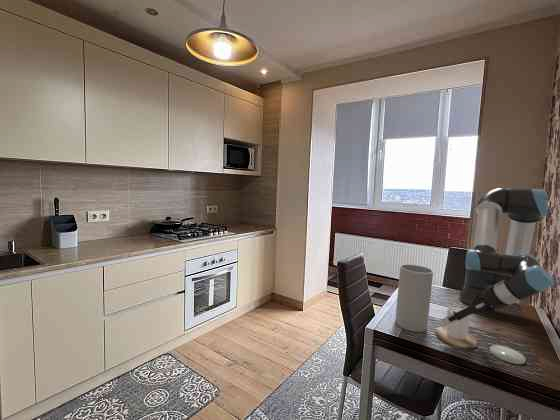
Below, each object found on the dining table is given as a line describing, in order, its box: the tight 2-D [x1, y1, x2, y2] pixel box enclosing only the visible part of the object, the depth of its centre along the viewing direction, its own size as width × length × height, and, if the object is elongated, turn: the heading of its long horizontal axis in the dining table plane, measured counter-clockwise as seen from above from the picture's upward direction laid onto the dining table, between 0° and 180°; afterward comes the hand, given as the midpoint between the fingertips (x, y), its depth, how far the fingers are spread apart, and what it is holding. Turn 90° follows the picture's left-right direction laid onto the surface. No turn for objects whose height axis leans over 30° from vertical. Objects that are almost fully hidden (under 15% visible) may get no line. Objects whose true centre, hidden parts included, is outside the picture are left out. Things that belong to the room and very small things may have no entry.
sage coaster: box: [489, 344, 526, 365], centre depth 103 cm, size 10×10×1 cm
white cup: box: [446, 306, 472, 340], centre depth 113 cm, size 8×8×10 cm
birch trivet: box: [435, 326, 478, 349], centre depth 113 cm, size 14×14×1 cm
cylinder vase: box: [394, 263, 434, 333], centre depth 121 cm, size 12×12×25 cm
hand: (450, 319), depth 115 cm, fingers open, 11 cm apart
